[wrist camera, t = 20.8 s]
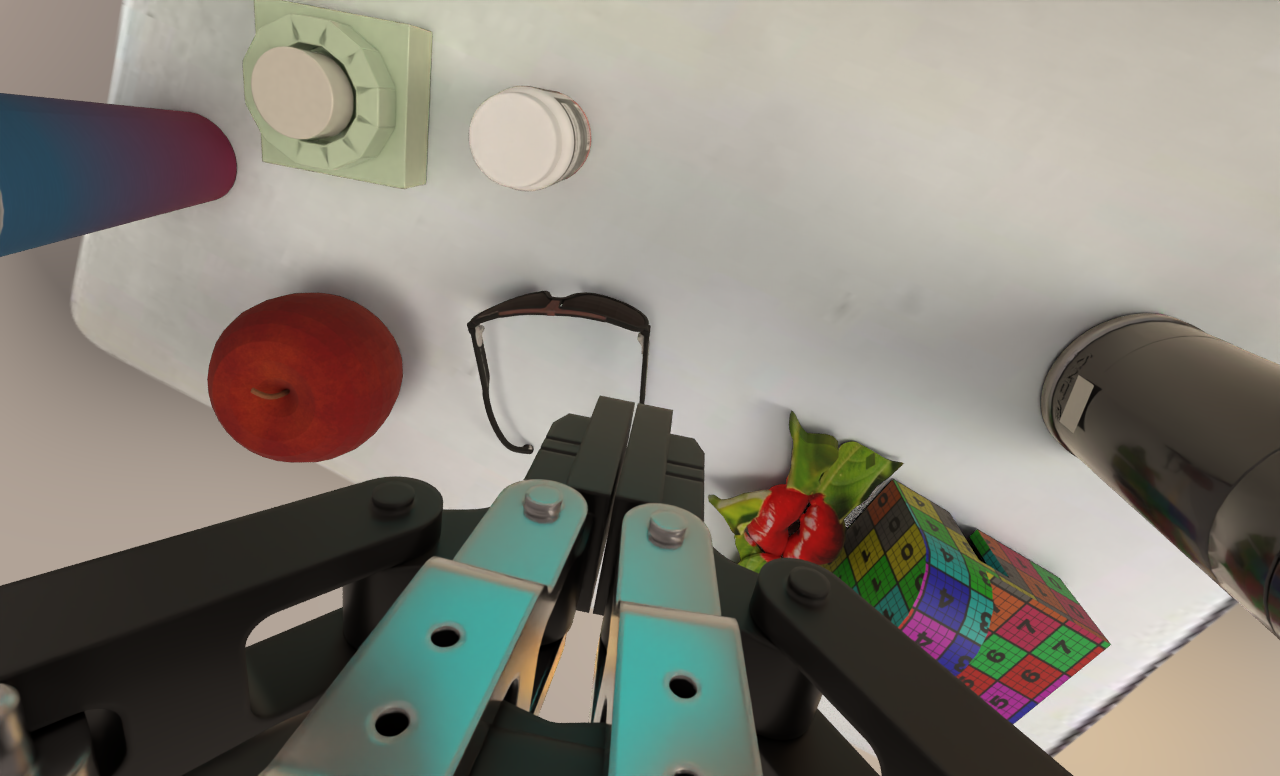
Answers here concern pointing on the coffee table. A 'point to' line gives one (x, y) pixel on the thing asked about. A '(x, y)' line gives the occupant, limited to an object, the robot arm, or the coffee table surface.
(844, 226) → the coffee table surface
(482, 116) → the pill bottle
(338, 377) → the apple
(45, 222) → the cup
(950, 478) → the coffee table surface
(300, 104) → the beige button cap
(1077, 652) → the block
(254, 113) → the button base
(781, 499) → the decorative ornament
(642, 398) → the sunglasses
